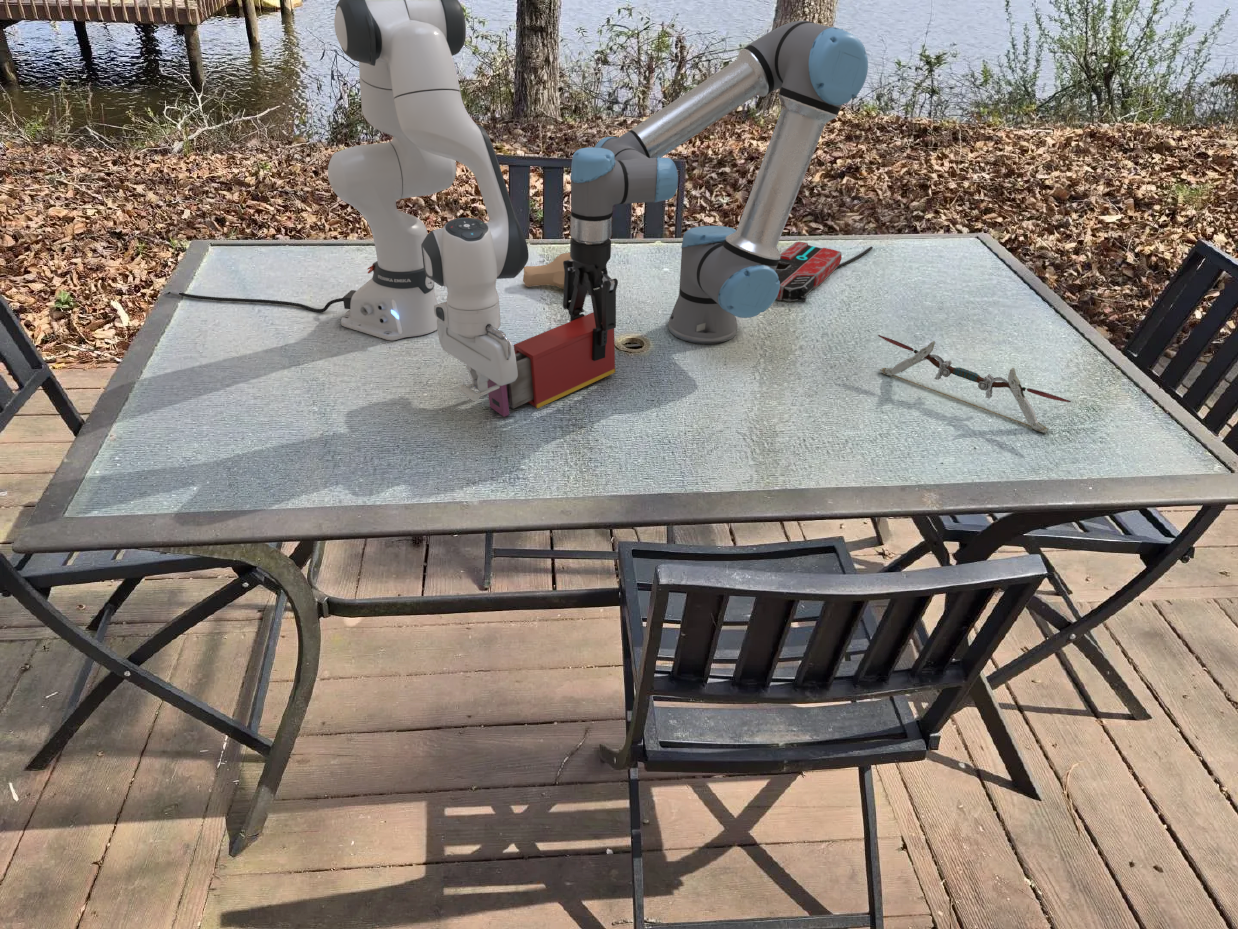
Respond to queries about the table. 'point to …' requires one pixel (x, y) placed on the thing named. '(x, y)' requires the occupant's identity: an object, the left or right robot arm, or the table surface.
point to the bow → (983, 384)
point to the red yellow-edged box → (565, 359)
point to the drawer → (507, 389)
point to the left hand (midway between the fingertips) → (480, 388)
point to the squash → (547, 273)
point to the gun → (804, 269)
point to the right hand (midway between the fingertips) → (587, 352)
